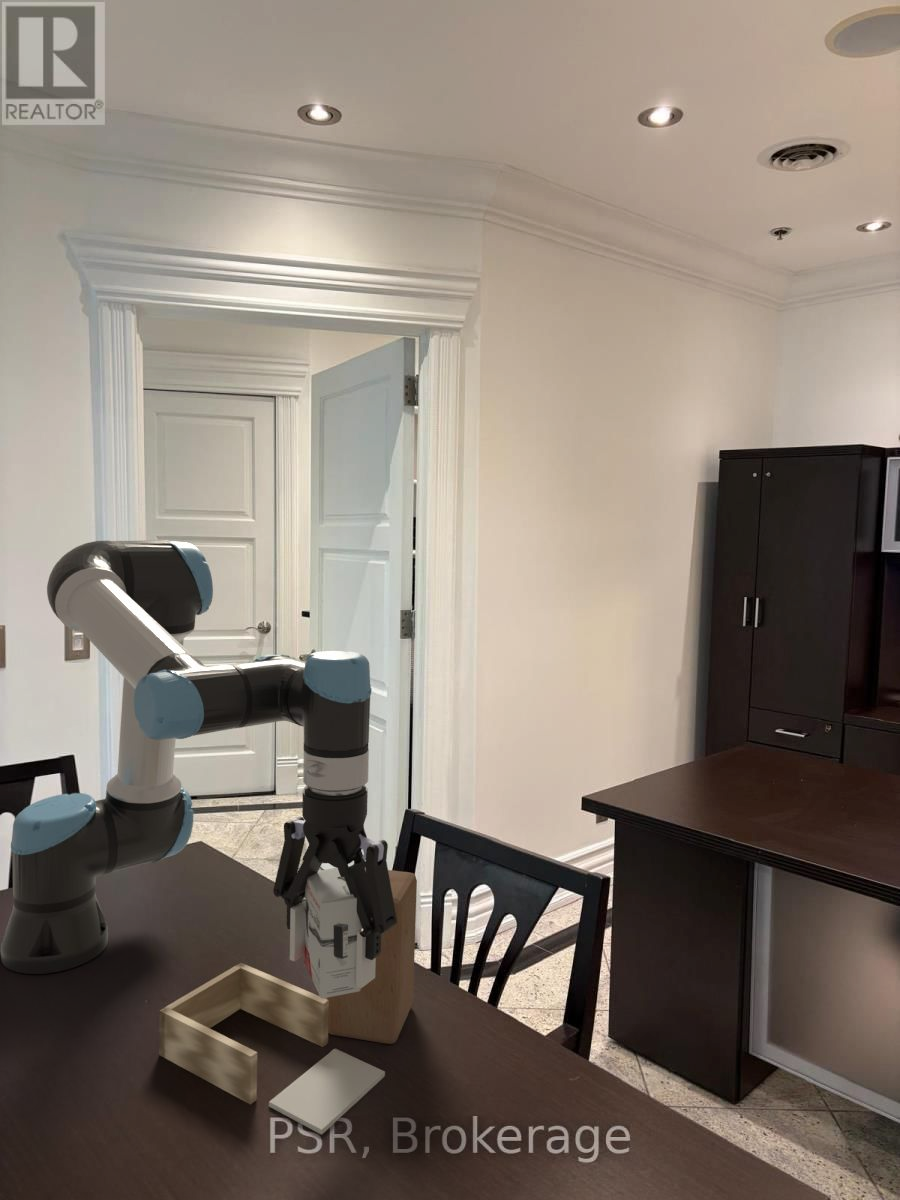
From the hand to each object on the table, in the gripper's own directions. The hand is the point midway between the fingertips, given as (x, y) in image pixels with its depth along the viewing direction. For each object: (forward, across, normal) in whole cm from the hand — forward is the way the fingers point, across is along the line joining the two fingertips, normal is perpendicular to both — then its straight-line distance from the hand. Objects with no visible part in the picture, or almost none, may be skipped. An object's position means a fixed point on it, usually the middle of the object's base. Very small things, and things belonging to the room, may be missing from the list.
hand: (331, 968), depth 100 cm
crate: (+16, -14, 0) cm, 21 cm away
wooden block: (+16, -5, +14) cm, 22 cm away
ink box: (+1, 0, 0) cm, 1 cm away
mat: (+16, 0, 0) cm, 16 cm away
